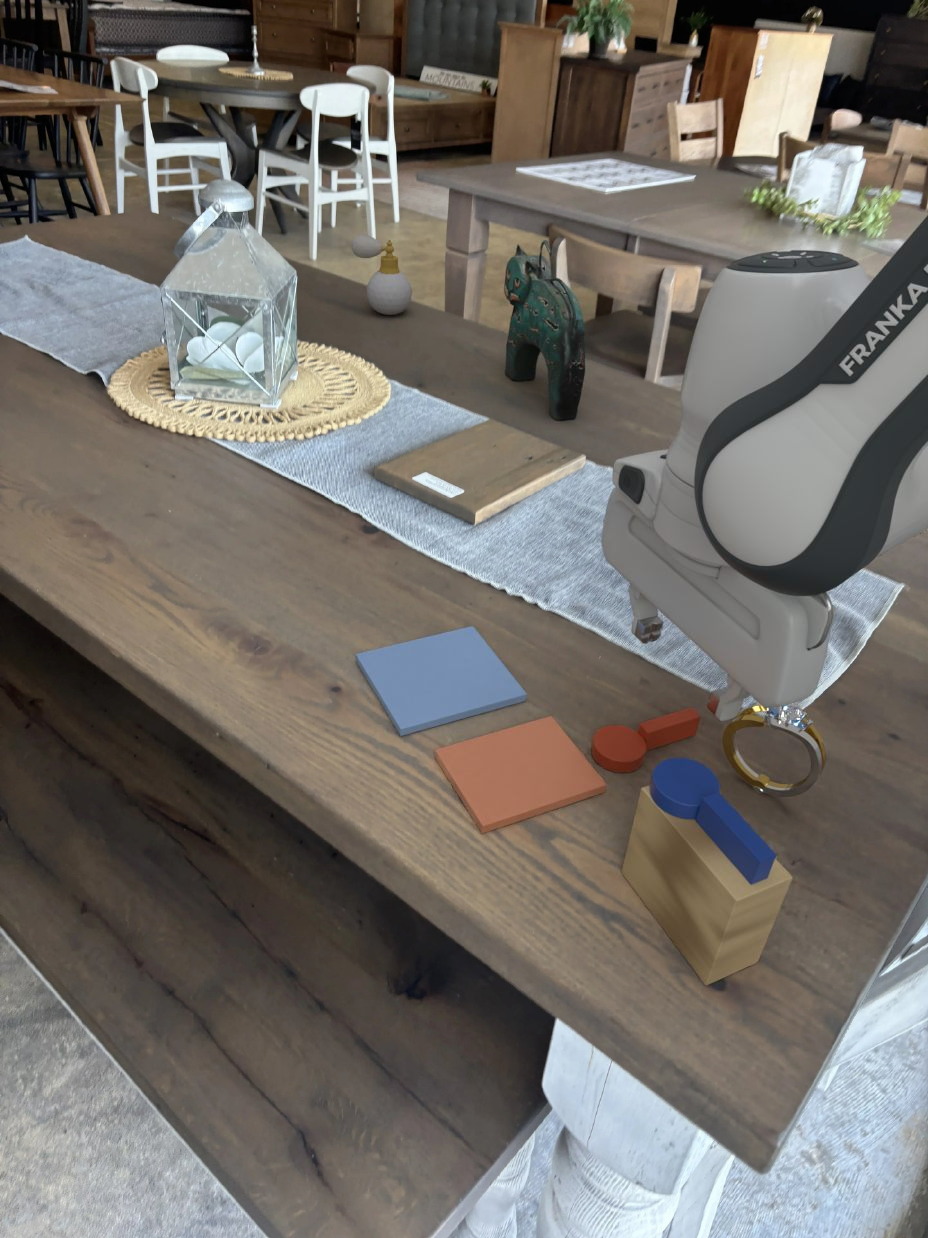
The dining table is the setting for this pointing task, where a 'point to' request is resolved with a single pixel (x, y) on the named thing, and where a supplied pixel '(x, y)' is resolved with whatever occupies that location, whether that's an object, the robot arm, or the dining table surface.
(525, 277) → the ceramic cat
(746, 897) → the spoon stand
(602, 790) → the terracotta tile
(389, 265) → the perfume bottle
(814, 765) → the ring
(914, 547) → the dining table surface
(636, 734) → the terracotta spoon
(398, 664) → the blue tile
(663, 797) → the blue spoon
